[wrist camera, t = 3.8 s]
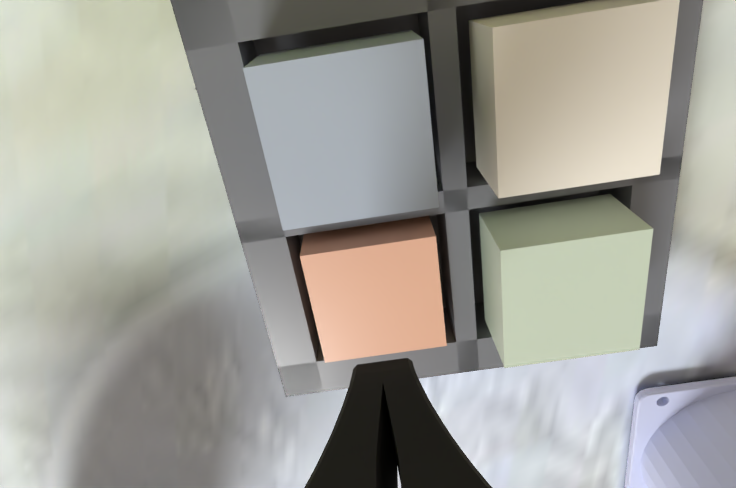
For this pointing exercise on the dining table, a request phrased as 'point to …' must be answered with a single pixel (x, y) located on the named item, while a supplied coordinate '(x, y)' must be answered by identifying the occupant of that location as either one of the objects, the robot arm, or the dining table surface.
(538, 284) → the sage key
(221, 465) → the dining table surface
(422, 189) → the slate key
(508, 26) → the ivory key
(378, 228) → the terracotta key
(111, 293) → the dining table surface
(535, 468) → the dining table surface
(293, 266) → the grey divided tray
